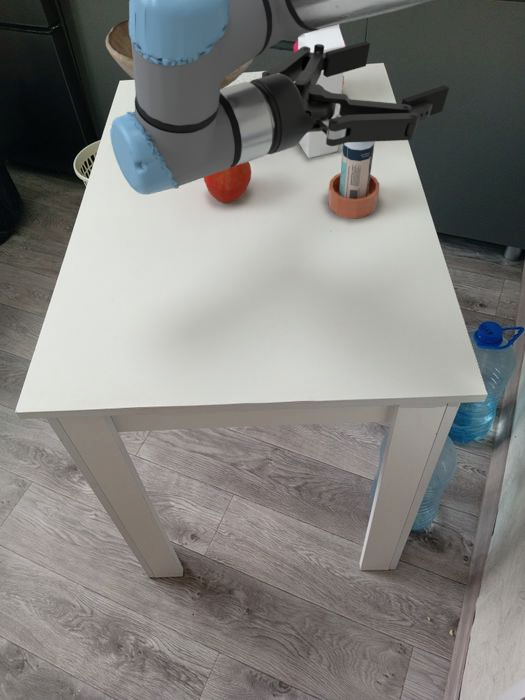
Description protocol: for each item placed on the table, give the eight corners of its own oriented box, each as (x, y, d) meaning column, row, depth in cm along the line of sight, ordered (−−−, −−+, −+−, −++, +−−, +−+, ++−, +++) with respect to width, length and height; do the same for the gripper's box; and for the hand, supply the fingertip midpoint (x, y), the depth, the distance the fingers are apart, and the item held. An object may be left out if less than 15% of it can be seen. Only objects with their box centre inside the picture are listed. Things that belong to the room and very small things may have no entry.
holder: (383, 213, 86) (386, 195, 83) (336, 222, 85) (337, 204, 82) (367, 184, 90) (369, 166, 87) (322, 193, 90) (323, 175, 87)
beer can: (372, 200, 87) (382, 135, 77) (352, 213, 85) (359, 147, 75) (353, 187, 89) (359, 122, 79) (332, 199, 88) (336, 134, 78)
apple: (247, 212, 88) (242, 157, 79) (201, 208, 89) (191, 153, 80) (257, 183, 92) (253, 127, 84) (213, 180, 94) (204, 125, 85)
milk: (297, 142, 99) (296, 15, 82) (327, 135, 100) (332, 8, 83) (308, 159, 96) (309, 30, 78) (338, 152, 97) (346, 23, 79)
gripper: (201, 104, 64) (334, 67, 71) (324, 210, 51) (469, 151, 59) (197, 38, 58) (342, 5, 66) (335, 140, 45) (494, 85, 53)
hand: (402, 74), depth 62 cm, fingers open, 13 cm apart
